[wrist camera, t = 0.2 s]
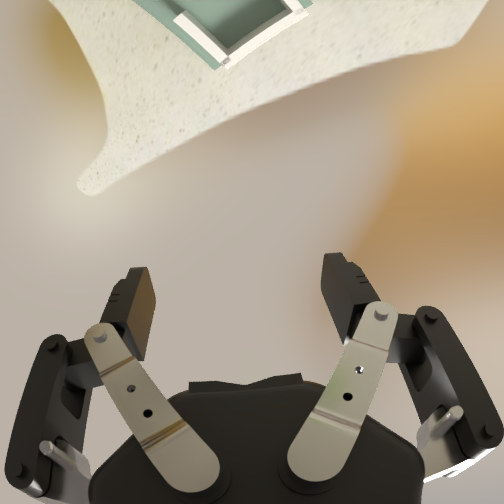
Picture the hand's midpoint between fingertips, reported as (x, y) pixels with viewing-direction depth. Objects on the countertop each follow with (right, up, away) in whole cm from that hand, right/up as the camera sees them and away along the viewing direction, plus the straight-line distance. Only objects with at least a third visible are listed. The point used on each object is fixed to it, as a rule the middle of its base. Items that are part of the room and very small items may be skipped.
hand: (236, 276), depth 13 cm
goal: (-1, +29, +12) cm, 31 cm away
